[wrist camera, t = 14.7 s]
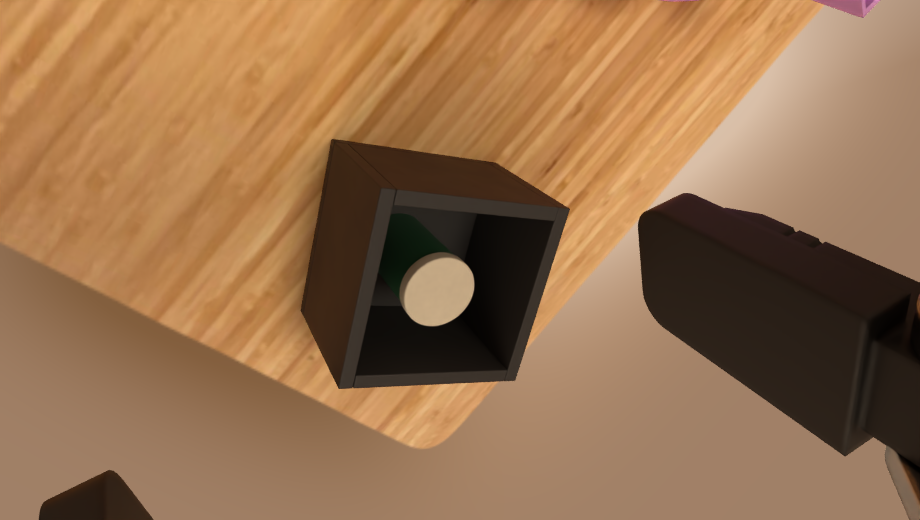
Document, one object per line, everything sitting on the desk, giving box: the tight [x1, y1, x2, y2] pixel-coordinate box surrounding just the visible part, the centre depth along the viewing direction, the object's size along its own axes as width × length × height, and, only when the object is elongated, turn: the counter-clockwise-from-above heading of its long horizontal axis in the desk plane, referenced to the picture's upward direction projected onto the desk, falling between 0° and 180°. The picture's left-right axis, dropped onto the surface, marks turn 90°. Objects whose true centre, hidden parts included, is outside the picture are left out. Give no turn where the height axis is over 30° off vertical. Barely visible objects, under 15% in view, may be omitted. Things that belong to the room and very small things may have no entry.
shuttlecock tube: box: [378, 213, 474, 326], centre depth 38 cm, size 4×4×7 cm
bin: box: [301, 139, 570, 389], centre depth 38 cm, size 11×11×9 cm
